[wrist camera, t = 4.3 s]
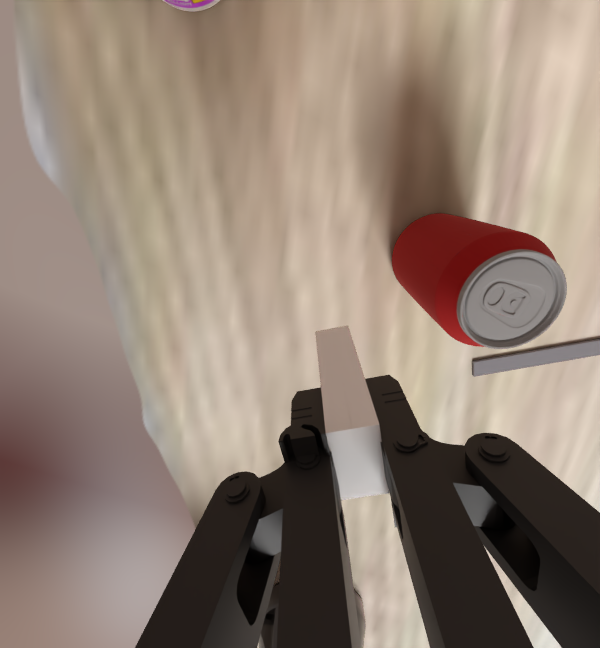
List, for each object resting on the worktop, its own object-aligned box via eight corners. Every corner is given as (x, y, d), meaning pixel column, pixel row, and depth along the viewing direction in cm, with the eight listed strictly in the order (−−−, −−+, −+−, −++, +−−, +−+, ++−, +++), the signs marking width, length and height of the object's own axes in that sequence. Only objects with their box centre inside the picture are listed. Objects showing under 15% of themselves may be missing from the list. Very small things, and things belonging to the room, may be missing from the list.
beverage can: (443, 302, 30) (528, 375, 19) (375, 277, 29) (422, 338, 18) (486, 229, 28) (611, 265, 17) (412, 198, 27) (494, 214, 16)
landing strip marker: (472, 374, 33) (473, 376, 33) (472, 360, 32) (473, 362, 32) (668, 341, 32) (671, 342, 31) (671, 325, 31) (675, 327, 31)
